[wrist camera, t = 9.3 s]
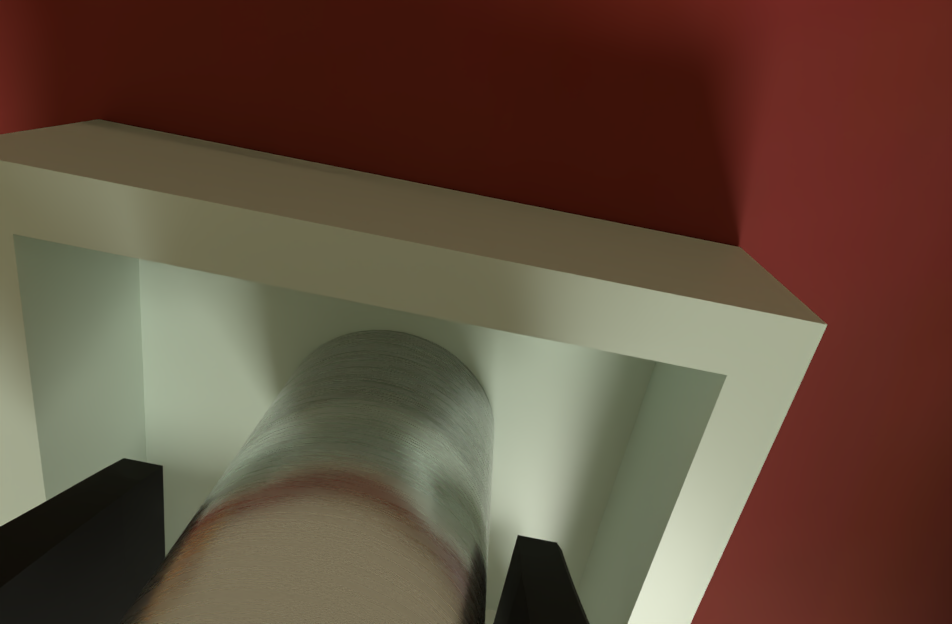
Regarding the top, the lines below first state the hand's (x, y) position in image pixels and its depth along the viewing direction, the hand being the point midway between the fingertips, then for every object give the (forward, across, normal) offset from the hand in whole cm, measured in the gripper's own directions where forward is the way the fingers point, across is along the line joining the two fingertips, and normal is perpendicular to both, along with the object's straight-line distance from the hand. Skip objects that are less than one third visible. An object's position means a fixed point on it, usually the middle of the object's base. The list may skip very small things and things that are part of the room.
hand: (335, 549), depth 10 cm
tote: (+4, 0, +3) cm, 5 cm away
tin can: (+3, 0, 0) cm, 3 cm away
